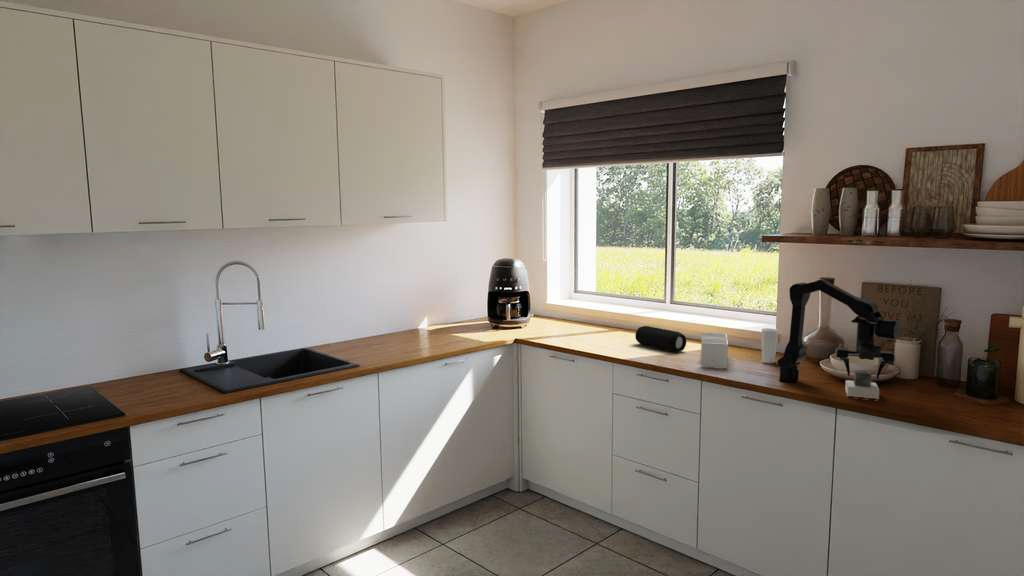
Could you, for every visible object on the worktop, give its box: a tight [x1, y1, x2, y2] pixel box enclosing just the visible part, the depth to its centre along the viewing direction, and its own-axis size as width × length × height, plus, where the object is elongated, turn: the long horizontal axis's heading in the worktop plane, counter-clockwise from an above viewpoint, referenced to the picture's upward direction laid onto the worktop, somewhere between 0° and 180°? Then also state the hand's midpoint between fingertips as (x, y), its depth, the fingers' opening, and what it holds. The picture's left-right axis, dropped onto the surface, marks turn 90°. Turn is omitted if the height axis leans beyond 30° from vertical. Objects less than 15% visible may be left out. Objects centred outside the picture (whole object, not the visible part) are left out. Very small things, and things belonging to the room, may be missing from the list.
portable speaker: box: [634, 325, 687, 353], centre depth 319 cm, size 26×10×10 cm, turn 37°
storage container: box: [700, 331, 729, 369], centre depth 291 cm, size 25×11×11 cm, turn 163°
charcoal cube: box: [853, 369, 872, 387], centre depth 238 cm, size 5×5×5 cm
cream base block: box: [844, 379, 880, 400], centre depth 238 cm, size 10×10×4 cm
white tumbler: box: [760, 327, 779, 365], centre depth 289 cm, size 7×7×15 cm
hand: (862, 377), depth 238 cm, fingers open, 9 cm apart
